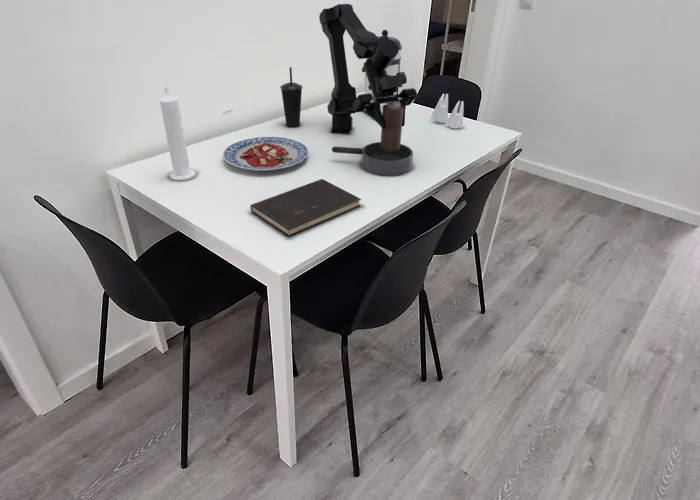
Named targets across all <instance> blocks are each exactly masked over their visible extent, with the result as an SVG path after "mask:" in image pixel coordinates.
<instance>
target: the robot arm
mask: <svg viewBox="0 0 700 500" xmlns="http://www.w3.org/2000/svg"><path fill="white" fill-rule="evenodd" d="M318 17H319V23H320V25H321V29H322V33H323V34H324V36H325V37H326V38H327V40H328V45H329V50H330V51H329V52H330V60H331V67H332V74H333V81H334V86H333V89H332V91H331V94H330V95H331V99H330V101H329V103H328V104H327V107H326V108H327V113H328V114H329V115H331V130H330V133H332V134H333V133H335V134H347V135H348V134H350V133H351V131H352V130H353V123H354V121H353V119H354V118H353V116H352V114H353V115H354V114H356V113H364V115H368V116H369V117H370V118H371V119H373V120H374V121H375V123H376V124H377V125H378V126H379V127H381V129H382V128H383V129H385V128H386V125H385V121H384V118H383V116H382V113H381V110H380V104H383V103H387V102H390V101H395V102H399V103H400V104H401V106H403V108H404V109H403V120H402V127H404V126H405V125H406V107H407V106H411V104H412V103H413V102H414V101H415V100H416V99H417V98H418V96H419V95H418V91H417V90H416V88H415V87H410V88H403V85H405V84H407V82H408V79H407V76H406V75H407V74H406V73H405V71H400V72H399V73H397V74H396V75H394V76H390V75H387V72H386V69H385V68H387V67H389V65H390V64H391V62H392V61H393V60H394V58H395V57H396V55H397V54H398V50H399V49H398V46H397V45H396V44H395V42H393V41H392V40H390V39H388V37H389V36H388V35H387V36H383V35H380V36H381V37H380V39H379V38H378V35H376V33H374V32H372V31H370V30H367V28H366V27H365V25H364V23H362V21H361V19H360V18H359V16H358V15H357V14H356V12H355V11H354V7H353V4H350V3H337V4H336V5H334V6H331V7H329V8H323V9H322V10H321V12H320V13H319V16H318ZM345 32H347V34H348V35H349V37H350V38H351V40H352V42H353V43H352V49H353V52H354V54H355V56H356V58H357V59H358V60H365V62H364V63H363V66H362V68H361V73H365V76H366V75H367V78H368V81H369V84H370V85H369V86H368V88H369V90H372V93H373V96H374V97H372V94H370V93H368V94H365V93H360V94H358V95H357V88H356V87H355V86H352V85H351V83H350V79H349V73H348V65H347V64H348V63H347V56H346V50H345V49H346V48H345V41H344V40H345V39H344V35H345ZM366 58H369V59H367V61H366ZM397 88H398V89H399V88H403V89H402V90H401V91H400V92H399V93H398V95H394V92H396V91H397ZM363 111H364V112H363Z"/></svg>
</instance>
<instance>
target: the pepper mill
mask: <svg viewBox="0 0 700 500" xmlns="http://www.w3.org/2000/svg"><path fill="white" fill-rule="evenodd" d="M403 109H404V108H403V106H401V104H400V103H399V102H395V101H390V102H387V103H386V105H384V106H383V114H382V116H383V118H384V121H385V125H386V128H385V129H383V128H382V127H381V131H380V132H381V133H380V142H381V145H380V147H381V149H383V150H386V151H396V150H399V149H400V144H402V142H401V141H402V129H403V126H402V120H403Z"/></svg>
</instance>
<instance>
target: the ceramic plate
mask: <svg viewBox="0 0 700 500" xmlns="http://www.w3.org/2000/svg"><path fill="white" fill-rule="evenodd" d="M308 155H309V150H308V147H307V146H306V145H305V144H303V143H302V142H301V141H298V140H295V139H292V138H288V137H280V136H258V137H251V138H246V139H241V140H239V141H236V142H233V143H232V144H230V145H228V146H227V147H226V148H225V149H224V150H223V151H222V159H223V160H224V161H225V162H226V163H227V164H229V165H231V166H232V167H235V168H238V169H243V170H248V171H275V170H281V169H286V168H290V167H293V166H295V165H298V164H300V163H301V162H303V161H304V160H305V159H307V157H308Z"/></svg>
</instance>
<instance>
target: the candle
mask: <svg viewBox="0 0 700 500" xmlns="http://www.w3.org/2000/svg"><path fill="white" fill-rule="evenodd" d="M159 105H160V110H161V114H162V121H163V126H164V131H165V135H166V140H167V145H168V146H167V147H168V150H169V157H170V160H171V165H172V169H173V170H171V171H170V172H169V178H170V180H173V181H177V182H178V181H188V180H191V179H193V178H194V177H195V176H196V170H195V169H193V168H191V167H190V160H189V155H188V149H187V144H186V139H185V132H184V126H183V121H182V116H181V111H180V104H179V99H178V97H176V96H174V95H173V94H172V93H171V92H170V90H169V87H168V86H167V85H166V86H164V95H163V96H161V97H160V99H159Z"/></svg>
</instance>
